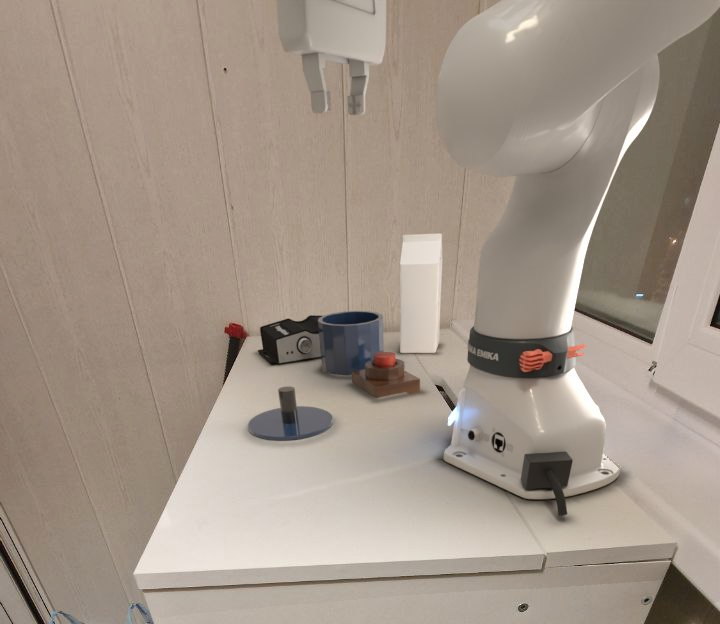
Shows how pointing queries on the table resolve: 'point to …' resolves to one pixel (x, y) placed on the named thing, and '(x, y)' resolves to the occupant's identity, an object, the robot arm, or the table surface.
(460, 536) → the table surface
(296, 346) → the electronic device
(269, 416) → the lid
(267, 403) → the table surface
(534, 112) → the robot arm
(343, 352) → the pot
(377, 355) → the button
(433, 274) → the milk carton
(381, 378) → the block
